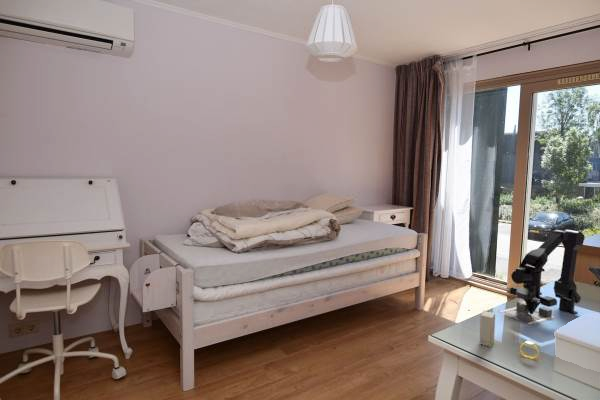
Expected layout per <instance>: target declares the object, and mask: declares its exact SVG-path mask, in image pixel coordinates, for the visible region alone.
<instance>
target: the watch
mask: <svg viewBox="0 0 600 400" xmlns="http://www.w3.org/2000/svg"><path fill="white" fill-rule="evenodd" d="M523 346H530V347H533V348H534V349H535V351H536V352H537V353H536V355H535V356H530V355H526V354H524V352H523V351H522V347H523ZM519 352H520V355H521V356H522V357H524V358H527V359H530V360H536V359H537V358H538V357H539V354H540V351H539V348H538V346H537V345H535V342H533V341H531V340H526V341H525V342H523V343H521V344H520V346H519Z"/></svg>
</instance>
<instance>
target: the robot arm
mask: <svg viewBox="0 0 600 400" xmlns="http://www.w3.org/2000/svg"><path fill="white" fill-rule="evenodd" d="M584 241H585V234H584V233H583V232H582V231H577V230H572V229H565V230H560V229H556V230H553V231H552V234H551V235H550V236H548V237H547V239H546V240H545V241H544V242H543V243H542V244H541V245H540V246H539V247H537V248H536V249H532V250H530V251H529V252H528V253H526V254H525V255H524V257H523V259H522V261H521V262H520V263H519V266H518V267H515V270H514V271H513V272H512V273H511V280H512V281H513V282H514V283H515V284H516V285H517V286H513V287H510V288H509V294H511V295H514V296H517V299H521V300H523V302H525V303H526V304H527V307H528V310H529V313H530V314H533V313H534V311H535V310H537V308H539V307H538V306H539V305H540V304H541V305H542V306H543V307H546V308H549V307H550V308H551V307H554V306H557V305H558V300H557V299H556V298H559V305H558V308H557V309H558V311H562V312H563V313H568V314H571V315H575V314H578V311H577V310H575V304H579V303H580V302H581V299H582V297H581V295H580V294H579V293H578V292H577V291H578V290H577V284H576V282H575V280H574V277H575V271H576V270H575V269H576V263H577V257H578V256H577V255H578V251H579V249H580V248H581V247H582V246H583V244H584ZM561 244H562V246H563V248H564V250H563V258H562V262H561V263H562V265H561V272H560V277H559V279H557V280H555V281H554V286H553V292H554V296H555V297H551V296H548V295H547V296H542V295H543V294H542V293H543V292H542V291H541V287H543V283H542V282H541V281H542V272H545V271H546V269H545V268H543V267H544V266H546V263H547V262H548V261H549V260H548V259H549V258H548V257H549V256H550V255H551V254H552V253H553V252H554V251H555V250H556V248H557V247H558V246H560V245H561ZM519 284H523V286H518V285H519Z"/></svg>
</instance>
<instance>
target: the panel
mask: <svg viewBox="0 0 600 400" xmlns="http://www.w3.org/2000/svg"><path fill="white" fill-rule="evenodd" d="M516 308H517V306H513V307H510V308H506V309H505V308H504V309H502V310H498V311H497V312H498V313H500V314H503V315H505V316H507V317H510V318H511V319H512V318H513V319H515V320H517V321H519V322H522V323H524V324H527V325H530V326H532V325H535V324H539V323H543V322H546V321H550V320H554V319H557V317H556V316H553V315H552V314H553V310H552V309H551V308H549V307H547V306H540V307H538V309H536V310H535V311H534V313H533V314H530V313H525V312H520V313H519V312H517V311H516Z"/></svg>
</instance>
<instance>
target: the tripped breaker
mask: <svg viewBox="0 0 600 400" xmlns="http://www.w3.org/2000/svg"><path fill="white" fill-rule="evenodd" d="M516 307H517V308H516V311H517V312H519V313H520V312H525V313H529V310H528V307H527V304H526V302H525V301H522V300H520V301H517V302H516Z"/></svg>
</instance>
